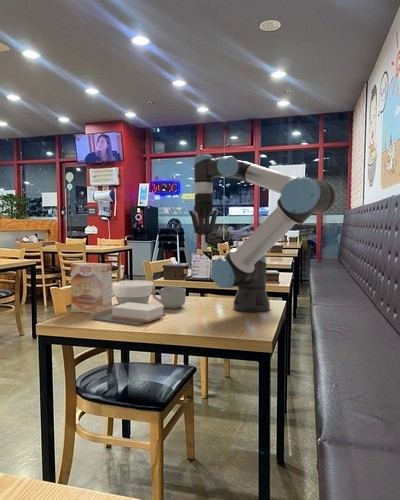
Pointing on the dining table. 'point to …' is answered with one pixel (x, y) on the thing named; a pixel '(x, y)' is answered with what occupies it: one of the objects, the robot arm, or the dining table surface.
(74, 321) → the dining table surface
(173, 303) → the teacup
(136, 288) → the bowl
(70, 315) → the dining table surface
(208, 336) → the dining table surface
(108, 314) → the slate board
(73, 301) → the coffeecake box
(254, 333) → the dining table surface
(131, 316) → the tile
